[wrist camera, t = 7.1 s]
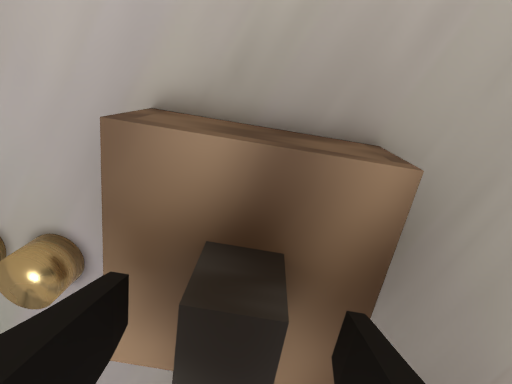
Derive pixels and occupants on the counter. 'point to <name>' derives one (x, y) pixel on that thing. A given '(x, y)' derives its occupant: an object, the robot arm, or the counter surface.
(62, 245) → the brass puck
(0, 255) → the brass puck
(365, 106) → the counter surface
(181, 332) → the cover
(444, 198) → the counter surface
